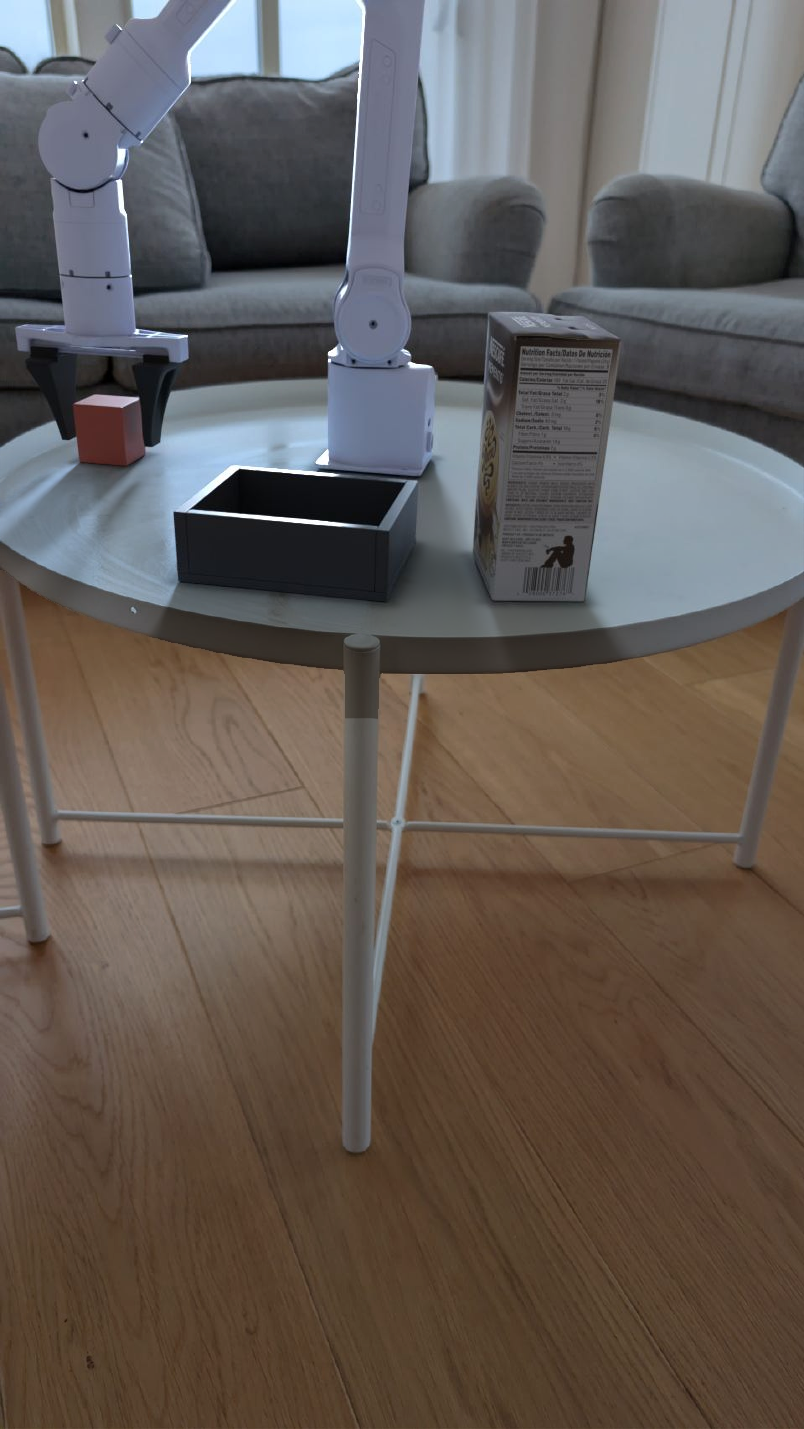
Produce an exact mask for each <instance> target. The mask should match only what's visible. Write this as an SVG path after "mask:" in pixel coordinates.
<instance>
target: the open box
mask: <svg viewBox="0 0 804 1429" xmlns="http://www.w3.org/2000/svg"><path fill="white" fill-rule="evenodd" d="M418 501H419V480H413V479H408V480H407V479H402V478H390V477H388V478H386V477H376V476H365V475H355V474H354V475H353V474H343V473H342V474H341V473H331V472H330V473H329V472H317V471H305V470H294V469H280V468H269V467H257V466H244V465H234V464H231V465H230V466H228V467H227V468H226V469H225V470H224V471H222V472H221V473H219V474H218V475H217V476H216V477H215V478H213V480H211V481H210V482H208V483H207V484H206V485H205V486H204V487H202V488H201V489H199V491H197V492H196V493H195V494H194V495H192V496H191V497H190V498H189V499H187V500H186V501H184V502H183V503H182V504H181V505H180V506H179V507H177V508H176V509H174V511H173V512H172V513H173V527H174V540H175V542H174V543H175V556H176V557H175V558H176V570H177V581H178V582H180V583H181V582H182V583H191V584H193V583H194V584H202V585H211V586H222V587H232V588H242V589H250V590H251V589H253V590H261V591H262V590H263V591H273V592H282V593H291V594H303V595H315V596H323V597H332V598H343V599H351V600H352V599H353V600H362V601H363V600H364V601H374V602H385V603H387V602H388V601H389V599H390V596H391V594H392V593H393V590H394V588H395V586H396V584H397V582H398V580H399V578H400V576H401V574H402V572H403V570H404V568H405V566H406V564H407V562H408V560H409V558H410V556H411V554H412V551H413V550H414V548H415V546H416V543H417V525H418V524H417V522H418Z"/></svg>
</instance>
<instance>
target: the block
mask: <svg viewBox="0 0 804 1429" xmlns="http://www.w3.org/2000/svg"><path fill="white" fill-rule="evenodd" d="M76 402H77V403H74V404H73V409H74V418H75V427H76V436H77V437H76V444H77V445H76V446H77V453H78V462H79V463H85V464H86V463H88V464H97V465H110V466H122V467H127V466H129V465H131V464H132V463H134V462H135V461H137V460H139V459H140V458H142V457H143V456H146V453H147V452H146V450H147V449H146V447H145V446H144V441H143V435H142V417H141V406H140V400H139V397H135V396H122V395H121V396H120V395H109V394H108V395H107V394H92V395H90V396H87V397H86V398H83V399H80V400H79V401H76Z"/></svg>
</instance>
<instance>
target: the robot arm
mask: <svg viewBox="0 0 804 1429" xmlns="http://www.w3.org/2000/svg"><path fill="white" fill-rule="evenodd" d="M236 1H237V0H168V1H167V2H166V4H165V5H164V6H163V8H162V9H161V11H160V12H159V13H158V15H156V16H155V17H131V18H129V19H128V20H127V22H126V24H125V25H123V27H122V28H121V27H120V26H119V25H118V24H116V23H113V24H112V25H111V27H110V28H109V29H108V30H107V32H106V33H105V34H104V39H105V40H106V42H107V43H108V44H109V45H108V46H107V47H106V49H105V51H103V53H102V54H101V56H100V57H99V58H98V60H96V62H95V63H94V64H93V66H92V67H91V68H90V70H88V72H87V74H86V75H85V76H84V77H83V79H82V80H81V81H80V82H79V83H78V82H77V81H76V80H72V81H71V82H70V83H69V85H68V86H67V87H66V89H65V92H66V94H67V95H68V96H69V97H70V98H71V100H66V101H61V102H58V103H55V104H53V105H52V106H50V107H49V108H48V109H47V111H46V113H45V116H44V117H45V118H44V119H43V121H42V123H41V124H40V127H39V130H38V135H37V146H38V153H39V156H40V159H41V161H42V163H43V165H44V167H45V169H46V170H47V171H48V173H49V175H51V177H50V186H51V187H50V188H51V190H50V191H51V197H52V205H53V211H52V219H53V227H54V228H53V229H54V236H55V245H56V255H57V265H58V271H59V284H60V292H61V302H62V310H63V319H64V325H55V324H54V325H53V324H52V325H51V324H50V325H49V324H28V323H26V324H22V325H18V326H16V327H14V330H15V338H16V346H17V351H18V352H30V353H29V357H27V358H25V359H24V366H25V368H26V370H27V372H28V373H29V374H30V375H31V377H32V378H33V380H34V381H35V383H36V384H37V386H38V387H39V389H40V391H41V393H42V394H43V396H44V398H45V400H46V402H47V404H48V406H49V408H50V411H51V413H52V415H53V417H54V421H55V423H56V425H57V428H58V431H59V434H60V437H61V440H62V441H71V440H72V439H73V440H74V439H75V438H77V436H76V427H75V418H74V409H73V404H74V403H77V402H78V401H77V362H78V354H79V355H92V356H104V357H105V356H107V357H119V358H120V357H121V358H136V359H142V361H138V362H137V363H134V364H131V371H132V374H133V377H134V382H135V385H136V390H137V395H138V398H139V400H140V406H141V417H142V435H143V441H144V446H145V448H154V447H156V446H157V445H159V444H160V443H161V440H162V430H163V425H164V424H163V423H164V418H165V413H166V409H167V406H168V405H167V404H168V402H169V398H170V395H171V392H172V390H173V386H174V384H175V382H176V379H177V377H178V375H179V373H180V370H181V367H182V362H184V361H185V362H186V361H187V360H188V359H189V342H188V340H189V339H188V335H186V334H175V333H167V332H160V331H152V330H146V329H139V328H137V327H136V315H135V314H136V313H135V304H134V288H133V278H132V276H133V275H132V268H131V255H130V254H131V253H130V240H129V231H128V230H129V229H128V227H129V226H128V216H127V213H126V211H125V205H124V204H125V202H124V192H123V180H122V178H123V176H124V175H125V173H126V171H127V168H128V164H129V157H130V152H129V149H130V148H131V147H140V146H141V145H142V143H144V141H145V140H146V139H147V137H148V136H150V134H151V132H152V131H153V130H154V129H155V128H156V127H157V125H158V124H159V123H160V122H161V120H162V119H163V118H164V117H165V116H166V114H167V113H168V112H169V111H170V110H171V108H172V107H173V106H174V104H176V102H177V101H178V99H179V98H180V97H181V96H182V94H183V93H184V92H186V90H187V88H188V87H189V86H190V85H191V80H192V79H191V64H190V57H191V53H192V52H193V51H194V49H195V48H196V47H197V46H198V45H199V44H200V43H201V41H203V39H204V38H205V37H206V36H207V35H208V34H209V32H210V31H211V30H212V29H213V27H215V25H216V24H217V23H218V22H219V21H220V19H222V17H224V15H225V14H226V13H227V11H228V10H230V8H231V7H232V6H233V5H234V3H235V2H236ZM355 2H356V3H357V4H358V5H359V7H360V8H361V10H362V14H363V15H362V32H361V45H360V62H359V78H358V91H357V107H356V108H357V109H356V123H355V137H354V139H355V140H354V155H353V169H352V184H351V200H350V201H351V203H350V218H349V219H350V220H349V229H348V230H349V231H348V242H347V251H346V260H345V261H346V263H345V272H344V277H343V279H342V282H341V283H340V285H339V286H338V288H337V290H336V292H335V294H334V297H333V301H332V310H331V312H332V318H333V325H334V333H335V337H336V340H337V341H338V344H337V345H336V346H335V347H334V348H333V349H332V350H330V351H328V353H327V359H328V360H327V450H325V452H324V453H323V454H322V455H321V456H320V457H319V458H318V459H317V460H316V461H315V462H314V467H315V468H317V469H323V470H324V469H325V470H336V471H348V472H360V473H371V474H385V475H386V474H387V475H395V476H396V475H397V476H407V477H409V476H410V477H421V475H422V474H423V473H424V471H425V470H426V468H427V466H428V464H429V462H430V460H431V459H432V457H433V453H434V452H433V447H434V419H435V418H434V416H435V401H436V400H435V398H436V373H435V369H434V367H433V366H431V365H427V364H417V363H414V362H411V361H412V354H411V352H410V351H409V350H406V349H405V346H406V345H407V342H408V341H409V339H410V334H411V331H412V315H411V312H410V308H409V305H408V303H407V300H406V298H405V293H404V280H405V278H404V277H405V234H406V232H405V231H406V230H405V229H406V221H407V209H408V198H409V186H410V174H411V165H412V164H411V163H412V152H413V151H412V150H413V141H414V130H415V129H414V128H415V118H416V109H417V108H416V107H417V97H418V96H417V95H418V86H419V85H418V83H419V73H420V72H419V70H420V60H421V48H422V38H423V26H424V15H425V5H426V3H425V2H426V0H355Z"/></svg>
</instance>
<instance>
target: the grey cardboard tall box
mask: <svg viewBox="0 0 804 1429" xmlns="http://www.w3.org/2000/svg"><path fill="white" fill-rule="evenodd" d="M486 333H487V334H486V345H485V346H486V347H485V363H484V375H483V377H484V378H483V388H482V389H483V392H482V406H481V407H482V409H481V420H480V421H481V423H480V424H481V425H480V437H479V452H478V469H477V481H476V493H475V494H476V496H475V506H474V507H475V509H474V510H475V511H474V525H473V539H472V540H473V541H472V555H473V558H474V561H475V563H476V565H477V568H478V569H479V572H480V575H481V577H482V580H483V581H484V584H485V586H486V589H487V592H488V593H489V597H490V598H491V600H492V601H498V602H584V601H586V597H587V593H588V592H587V590H588V583H589V575H590V567H591V561H592V554H593V546H594V540H595V532H596V526H597V519H598V512H599V505H600V498H601V497H600V496H601V490H602V483H603V477H604V470H605V462H606V456H607V448H608V441H609V434H610V429H611V428H610V426H611V421H612V413H613V406H614V405H613V404H614V397H615V391H616V390H615V389H616V382H617V376H618V369H619V368H618V367H619V362H620V353H621V345H622V338H621V337H618V336H617V335H615V334H613V333H611V332H609V331H608V330H607V329H605V328H603V327H601V326H599V325H598V324H597V323H595V322H594V321H591V320H589V319H588V318H586V317H585V316H584V315H555V314H550V313H539V312H527V311H490V312H488V313H487V331H486Z"/></svg>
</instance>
